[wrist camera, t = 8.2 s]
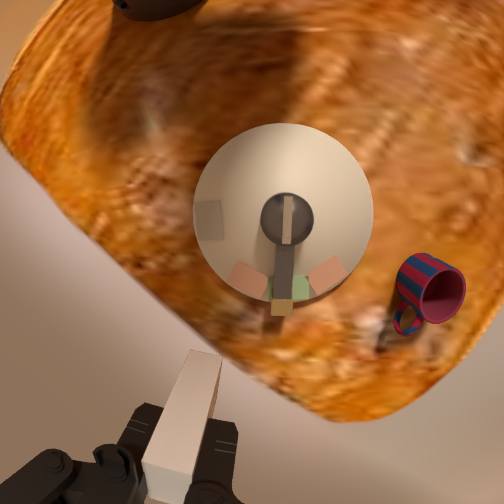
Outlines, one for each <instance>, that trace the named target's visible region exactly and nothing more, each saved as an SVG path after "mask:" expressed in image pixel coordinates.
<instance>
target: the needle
mask: <svg viewBox="0 0 504 504" xmlns="http://www.w3.org/2000/svg"><path fill="white" fill-rule="evenodd" d="M260 223H261V228H262V230H263V232H264V234H265V236H266V237H267V238H268V239H269V240H270V241H272V242H273V243H275V264H274V285H273V289H271V316H292V311H293V296H292V285H293V270H294V254H295V245H297V244H299V243H301V242H303V241H304V240H305V239H306V238H307V237H308V236H309V235H310V233H311V231H312V228H313V225H314V215H313V211H312V209H311V207H310V205H309V204H308V202H307V201H306V200H305V199H303V198H302V197H300V196H298V195H296V194H293V193H290V192H280V193H276V194H274V195H272V196H271V197H270V198H269V199H268V200H267V201H266V202H265V204H264V206H263V208H262V212H261V217H260Z"/></svg>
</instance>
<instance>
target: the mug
mask: <svg viewBox="0 0 504 504" xmlns="http://www.w3.org/2000/svg"><path fill="white" fill-rule="evenodd" d="M396 285H397V290H398V293H399V294H400V296H401V297H402V298H403V301H402V302H401V304H400V306H399V307H398V309H397V311H396V314H395V317H394V322H393V324H394V328H395V330H396V331H397V332H398V333H399V334H400V335H402V336H405V337H408V336H411V335H412V334H413V333H414V332H415V331H416V330H417V329H418V328H419V326H420V325H421V323H422V321H423V320H426V321H427V322H429V323H433V324H439V323H443V322H445V321H447V320H449V319H450V318H451V317H453V316H454V315H455V314H456V312H457V311H458V310H459V308H460V307H461V305H462V303H463V300H464V297H465V292H466V283H465V279H464V276H463V275H462V273H461V272H460V271H459V270H458V269H456V268H454V267H452V266H450V265H448V264H447V263H445V262H443V261H441V260H439V259H437V258H435V257H433V256H431V255H429V254H426V253H417V254H414V255H412V256H410V257H409V258H408V259H407V260H406V261H405V262H404V263H403V264H402V266H401V267H400V269H399V272H398V275H397V280H396ZM408 305H410V306H411V307H412V308H413V309H414V310H415V311H416V312H417V315H416V319H415V321H414V323H413V324H412V326H411V327H410V328H409V329H407V330H405V331H402V330H401V329H400V325H399V324H400V319H401V316H402V314H403V312H404V310H405V309H406V308H407V306H408Z"/></svg>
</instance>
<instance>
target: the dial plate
mask: <svg viewBox="0 0 504 504" xmlns="http://www.w3.org/2000/svg"><path fill="white" fill-rule="evenodd" d="M280 192H290V193H293V194H296V195H298V196H300V197H302V198H303V199H305V200H306V201H307V202H308V204H309V205H310V207H311V209H312V211H313V215H314V225H313V228H312V231H311V233H310V235H309V236H308V237H307V238H306V239H305V240H304V241H303V242H301V243H299V244H297V245H295V254H294V270H293V285H292V296H293V302H300V301H304V300H308V299H312V298H314V297H317V296H319V295H322V294H324V293H325V292H327V291H329V290H331V289H333V288H334V287H335V286H337V285H338V284H339V283H341V282H342V281H343V280H344V279H345V278H346V277H347V276H348V275H349V274H350V273H351V272H352V271H353V269H354V268H355V267H356V266H357V264H358V263H359V261H360V260H361V258H362V256H363V254H364V252H365V250H366V248H367V246H368V243H369V239H370V236H371V232H372V226H373V213H374V211H373V199H372V195H371V190H370V187H369V184H368V181H367V179H366V176H365V174H364V172H363V170H362V168H361V167H360V165H359V164H358V162H357V161H356V159H355V158H354V157H353V156H352V154H351V153H350V152H349V151H348V150H347V149H346V148H345V147H344V146H343V145H341V144H340V143H339V142H338V141H336V140H335V139H334V138H332V137H330V136H329V135H327V134H325V133H323V132H321V131H319V130H316V129H314V128H311V127H307V126H304V125H299V124H292V123H274V124H266V125H262V126H258V127H255V128H252V129H249V130H247V131H245V132H242V133H241V134H239V135H237V136H235V137H234V138H232V139H231V140H229V141H228V142H227V143H226V144H224V145H223V146H222V147H221V148H220V149H219V150H218V151H217V152H216V153H215V154H214V155H213V157H212V158H211V159H210V161H209V162H208V163H207V165H206V167H205V168H204V170H203V172H202V174H201V176H200V179H199V181H198V184H197V186H196V191H195V195H194V200H193V225H194V231H195V235H196V239H197V242H198V245H199V247H200V249H201V252H202V254H203V256H204V257H205V259H206V261H207V262H208V264H209V265H210V267H211V268H212V269H213V270H214V271H215V273H216V274H217V275H218V276H219V277H220V278H221V279H222V280H223V281H224V282H226V283H227V284H228V285H230V286H231V287H233V288H234V289H236V290H237V291H239V292H241V293H243V294H245V295H247V296H250V297H252V298H255V299H258V300H262V301H266V302H271V289H273V285H274V264H275V243H273V242H272V241H270V240H269V239H268V238H267V237H266V236H265V234H264V232H263V230H262V228H261V223H260V217H261V212H262V208H263V206H264V204H265V202H266V201H267V200H268V199H269V198H270V197H271V196H272V195H274V194H276V193H280Z"/></svg>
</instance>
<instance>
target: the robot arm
mask: <svg viewBox="0 0 504 504" xmlns="http://www.w3.org/2000/svg"><path fill="white" fill-rule="evenodd" d="M200 1H201V0H112V2H113V4H114V5H115V7H116V8H117V9H118V10H119V11H120V12H121V13H122V14H123V15H124V16H126V17H128V18H130V19H133V20H137V21H153V20H159V19H164V18H167V17H170V16H173V15H176V14H178V13H181V12H183V11H185V10H187V9H189V8H190V7H192V6H194V5H195V4H197V3H198V2H200ZM222 359H223V356H218V355H212V354H208V353H203V352H198V351H194V350H190V352H189V354H188V356H187V359H186V361H185V363H184V365H183V367H182V370H181V372H180V374H179V376H178V378H177V381H176V383H175V385H174V388H173V390H172V392H171V394H170V397H169V399H168V401H167V403H166V405H165V408H162V407H159V406H155V405H152V404H148V403H144V404H142V405H141V406H139V407H138V408H137V409H136V410H135V411H134V413H133V415H132V417H131V420H130V421H129V423H128V424H127V427H126V428H125V430H124V431H123V433H122V436H121V437H120V439H119V441H118V443H117V444H116V445H115V444H104V445H101V446H99V447H97V448H96V449H95V450H94V451H93V455H94V458H95V460H96V463H88V462H82V461H76V460H72V459H71V458H70V457H69V456H68V455H67V453H65V452H63V451H61V450H58V449H47V450H45V451H43V452H41V453H40V454H39V455H37V456H36V457H35V458H33V459H32V460H31V461H30V462H28V463H27V464H26V465H25V466H24V467H22V468H21V469H20V470H18V471H17V472H16V473H14V474H13V475H12V476H11V477H10V478H8V479H7V480H5V481H4V482H3V483H2V484H0V504H144V500H145V498H146V495H147V493H148V497H149V498H152V499H155V500H159V501H162V502H166V503H170V504H244V503H242V502H240V500H238V499H237V498H236V496H235V495H234V494H233V491H232V478H233V471H234V463H235V456H236V448H237V441H238V431H237V428H236V426H235V423H233V422H227V421H222V420H217V419H212V415H213V411H214V407H215V403H216V399H217V392H218V385H219V379H220V372H221V365H222Z"/></svg>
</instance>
